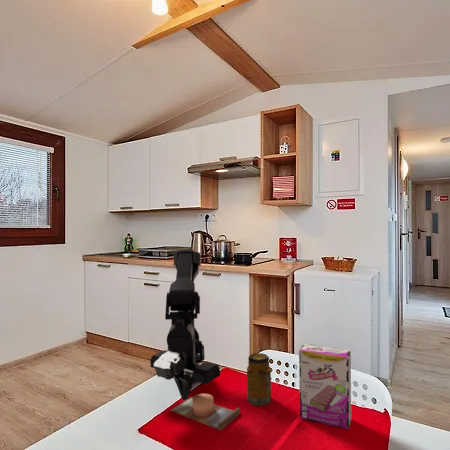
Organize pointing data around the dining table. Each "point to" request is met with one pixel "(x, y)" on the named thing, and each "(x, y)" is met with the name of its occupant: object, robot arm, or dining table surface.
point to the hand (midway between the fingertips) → (184, 399)
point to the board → (214, 420)
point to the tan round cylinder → (203, 405)
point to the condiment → (259, 380)
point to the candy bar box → (325, 385)
